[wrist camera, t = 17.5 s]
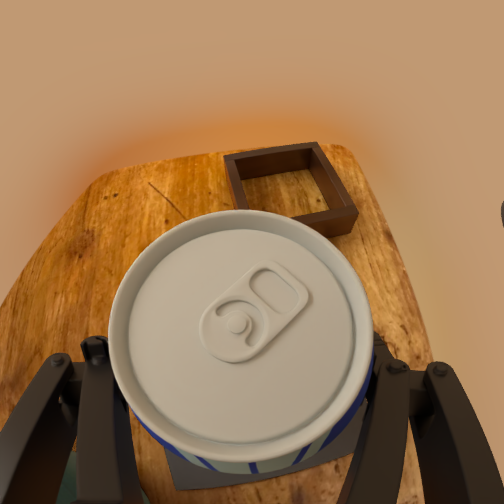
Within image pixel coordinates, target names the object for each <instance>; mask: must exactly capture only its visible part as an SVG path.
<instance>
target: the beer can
mask: <svg viewBox="0 0 504 504" xmlns="http://www.w3.org/2000/svg"><path fill="white" fill-rule="evenodd" d="M108 344H109V354H110V360H111V365H112V369H113V372H114V375H115V378H116V381H117V383H118V385H119V388H120V390H121V392H122V394H123V396H124V397H125V399H126V401H127V402H128V404H129V406H130V408H131V409H132V411H133V413H134V414H135V416H136V417H137V419H138V420H139V422H140V423H141V424H142V426H143V427H144V428H145V429H146V430H147V431H148V432H149V433H150V435H151V436H152V437H153V438H155V439H156V440H157V441H158V442H159V443H160V444H161V445H162V446H164V447H165V448H167V449H168V450H169V451H171V452H172V453H174V454H175V455H177V456H179V457H181V458H182V459H184V460H186V461H188V462H191V463H193V464H195V465H198V466H200V467H204V468H207V469H210V470H214V471H219V472H224V473H233V474H257V473H265V472H271V471H275V470H279V469H283V468H286V467H289V466H292V465H294V464H297V463H299V462H301V461H303V460H305V459H307V458H309V457H311V456H312V455H314V454H316V453H317V452H319V451H320V450H322V449H323V448H324V447H326V446H327V445H328V444H329V443H331V442H332V441H333V440H334V439H335V438H336V437H337V436H338V435H339V434H340V433H341V432H342V431H343V430H344V429H345V427H346V426H347V425H348V424H349V422H350V421H351V420H352V418H353V417H354V415H355V413H356V412H357V410H358V408H359V406H360V404H361V403H362V401H363V398H364V396H365V393H366V391H367V388H368V385H369V381H370V377H371V373H372V366H373V357H374V343H373V319H372V314H371V308H370V304H369V301H368V297H367V294H366V292H365V289H364V287H363V284H362V282H361V280H360V279H359V277H358V275H357V273H356V271H355V270H354V268H353V267H352V265H351V264H350V262H349V261H348V260H347V259H346V257H345V256H344V255H343V254H342V253H341V252H340V251H339V250H338V249H337V248H336V247H335V246H334V245H333V244H332V243H331V242H330V241H329V240H327V239H326V238H325V237H324V236H322V235H321V234H319V233H318V232H317V231H315V230H313V229H311V228H310V227H308V226H306V225H304V224H302V223H300V222H298V221H296V220H293V219H290V218H288V217H285V216H282V215H278V214H274V213H269V212H264V211H256V210H228V211H220V212H215V213H210V214H206V215H203V216H199V217H196V218H193V219H191V220H188V221H186V222H184V223H182V224H180V225H178V226H176V227H174V228H172V229H171V230H169V231H167V232H166V233H164V234H163V235H161V236H160V237H159V238H157V239H156V240H155V241H154V242H153V243H151V244H150V245H149V246H148V247H147V248H146V249H145V250H144V251H143V252H142V253H141V254H140V255H139V256H138V258H137V259H136V260H135V261H134V263H133V264H132V265H131V267H130V268H129V270H128V271H127V273H126V274H125V276H124V278H123V280H122V282H121V284H120V286H119V288H118V290H117V293H116V296H115V299H114V302H113V305H112V309H111V314H110V319H109V328H108Z"/></svg>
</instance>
